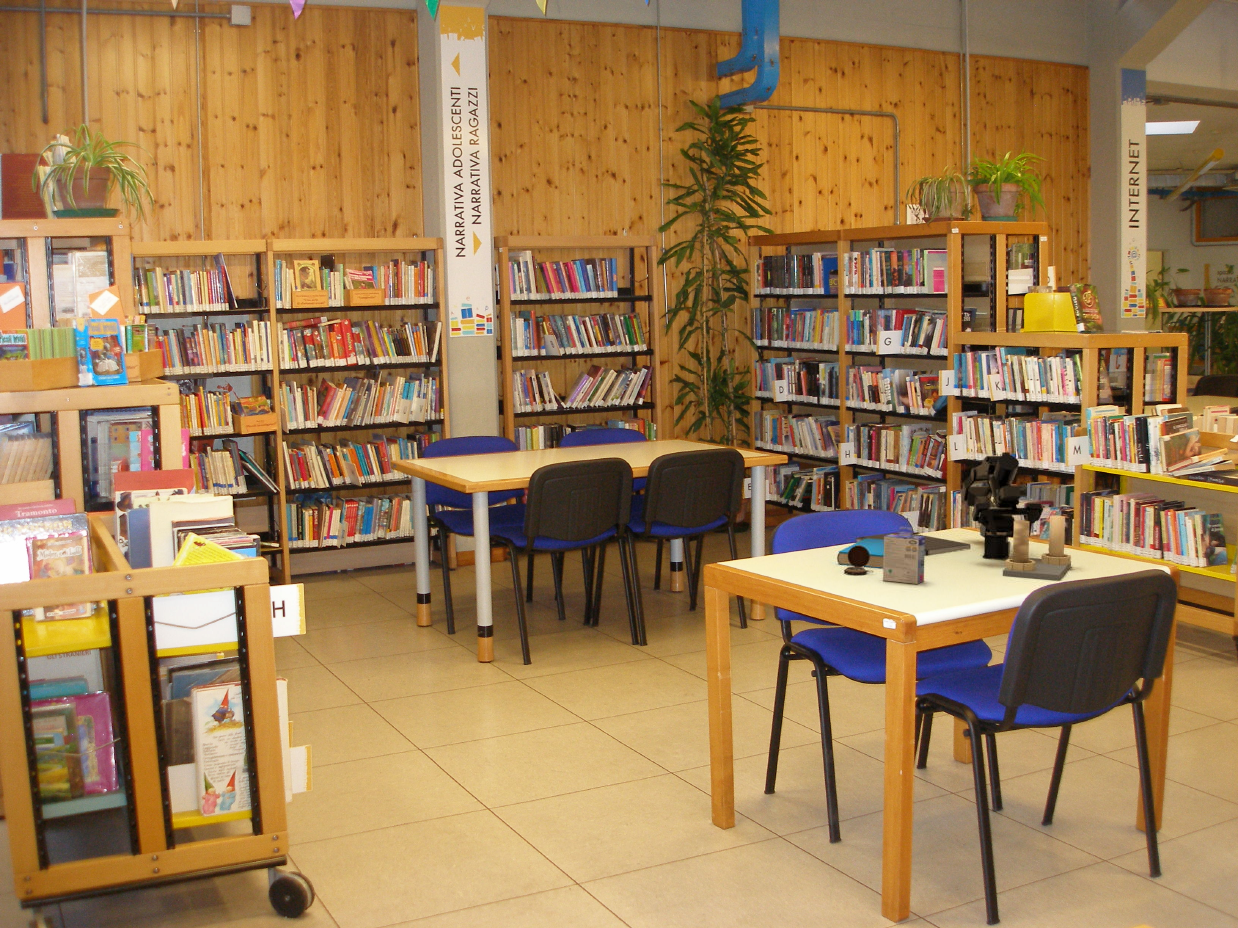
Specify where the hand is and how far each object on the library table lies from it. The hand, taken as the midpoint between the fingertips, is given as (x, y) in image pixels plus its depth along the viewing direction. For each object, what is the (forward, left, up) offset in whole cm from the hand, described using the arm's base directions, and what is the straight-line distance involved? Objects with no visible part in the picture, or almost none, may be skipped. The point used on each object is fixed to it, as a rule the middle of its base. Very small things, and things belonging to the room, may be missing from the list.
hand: (1012, 536), depth 329 cm
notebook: (-34, +22, -10) cm, 42 cm away
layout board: (+7, -1, -9) cm, 12 cm away
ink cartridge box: (-22, -31, -9) cm, 39 cm away
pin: (+4, -7, -8) cm, 11 cm away
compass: (-36, -25, -9) cm, 45 cm away
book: (-37, -4, -9) cm, 38 cm away
